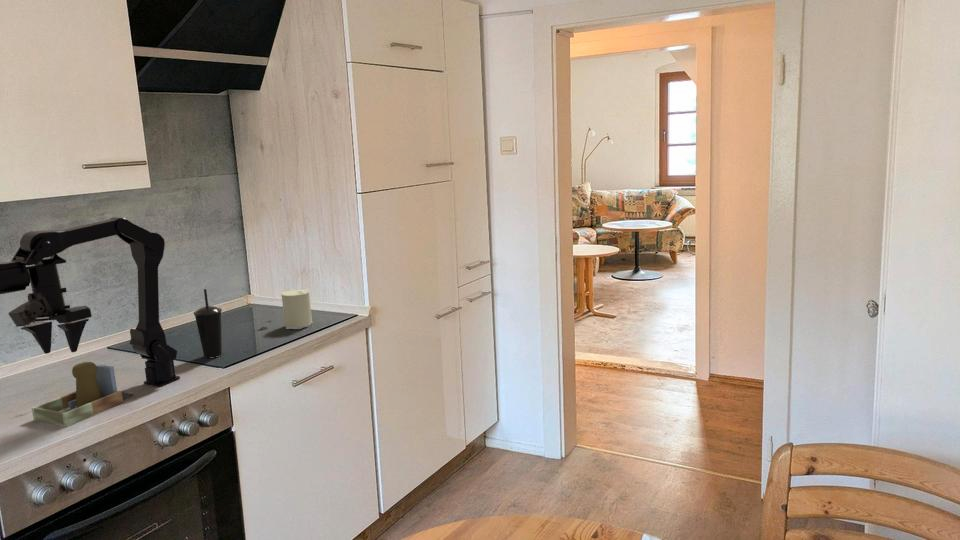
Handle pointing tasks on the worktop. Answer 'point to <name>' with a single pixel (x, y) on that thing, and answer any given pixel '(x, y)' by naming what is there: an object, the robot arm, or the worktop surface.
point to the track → (52, 415)
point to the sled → (103, 382)
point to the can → (296, 308)
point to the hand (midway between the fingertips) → (60, 352)
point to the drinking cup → (209, 329)
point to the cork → (86, 383)
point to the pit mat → (126, 395)
